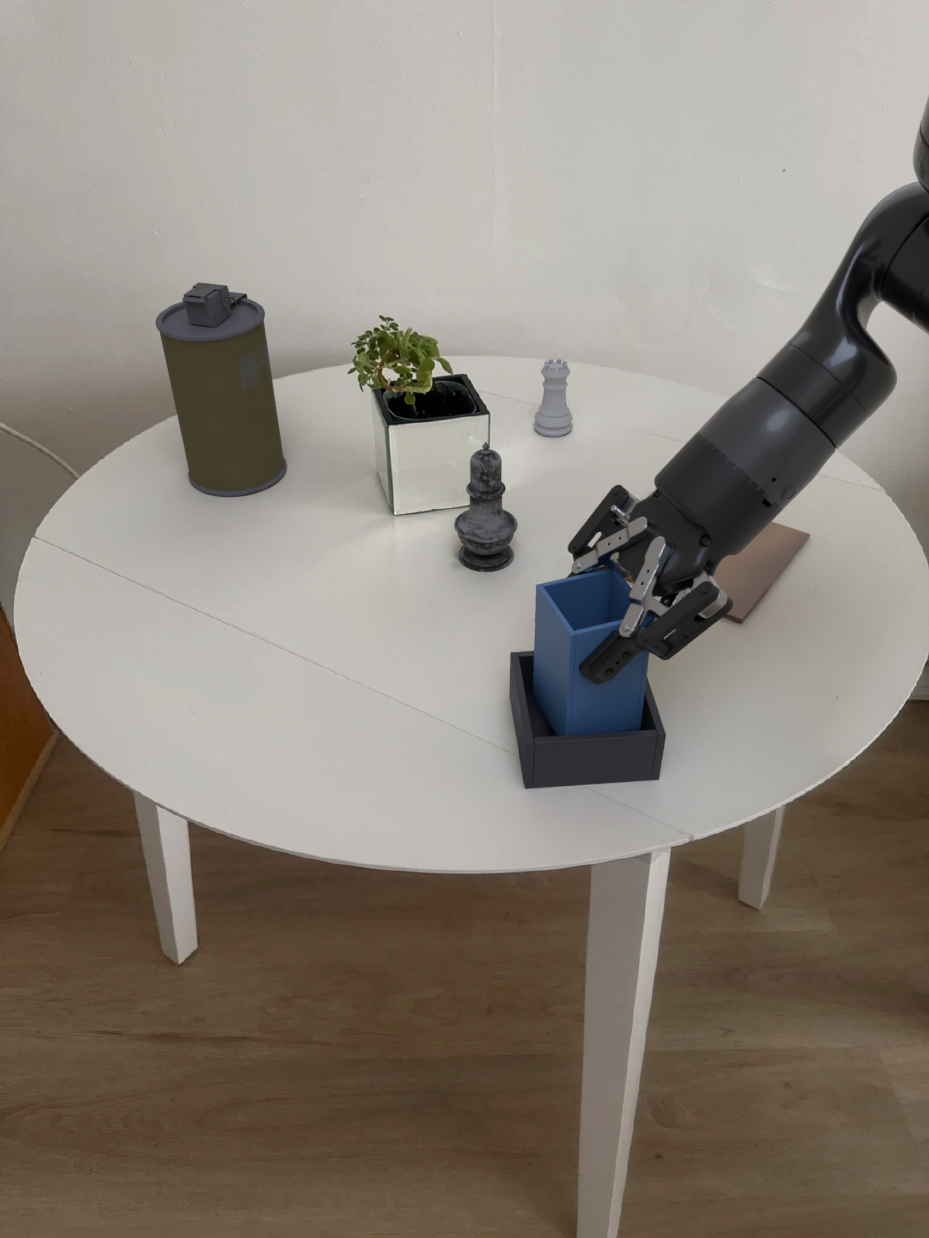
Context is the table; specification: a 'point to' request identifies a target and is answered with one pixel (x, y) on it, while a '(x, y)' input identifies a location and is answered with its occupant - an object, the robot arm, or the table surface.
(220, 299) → the canister
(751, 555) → the cork mat
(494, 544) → the dark grey tall piece
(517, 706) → the black bin
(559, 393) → the rook chess piece
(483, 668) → the table surface
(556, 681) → the blue bin
